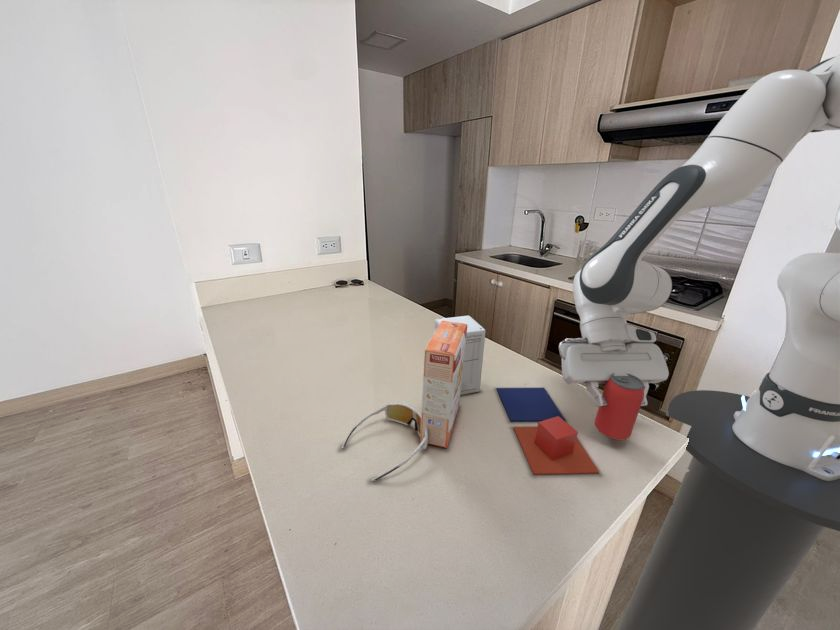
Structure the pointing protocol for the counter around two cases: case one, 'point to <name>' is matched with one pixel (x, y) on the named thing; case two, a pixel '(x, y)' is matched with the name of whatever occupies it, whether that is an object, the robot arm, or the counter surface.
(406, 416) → the sunglasses
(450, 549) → the counter surface
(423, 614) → the counter surface
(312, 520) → the counter surface
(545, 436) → the red block
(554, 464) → the terracotta mat
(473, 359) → the supplement box
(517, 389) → the navy mat
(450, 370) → the cracker box
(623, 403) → the beer can
